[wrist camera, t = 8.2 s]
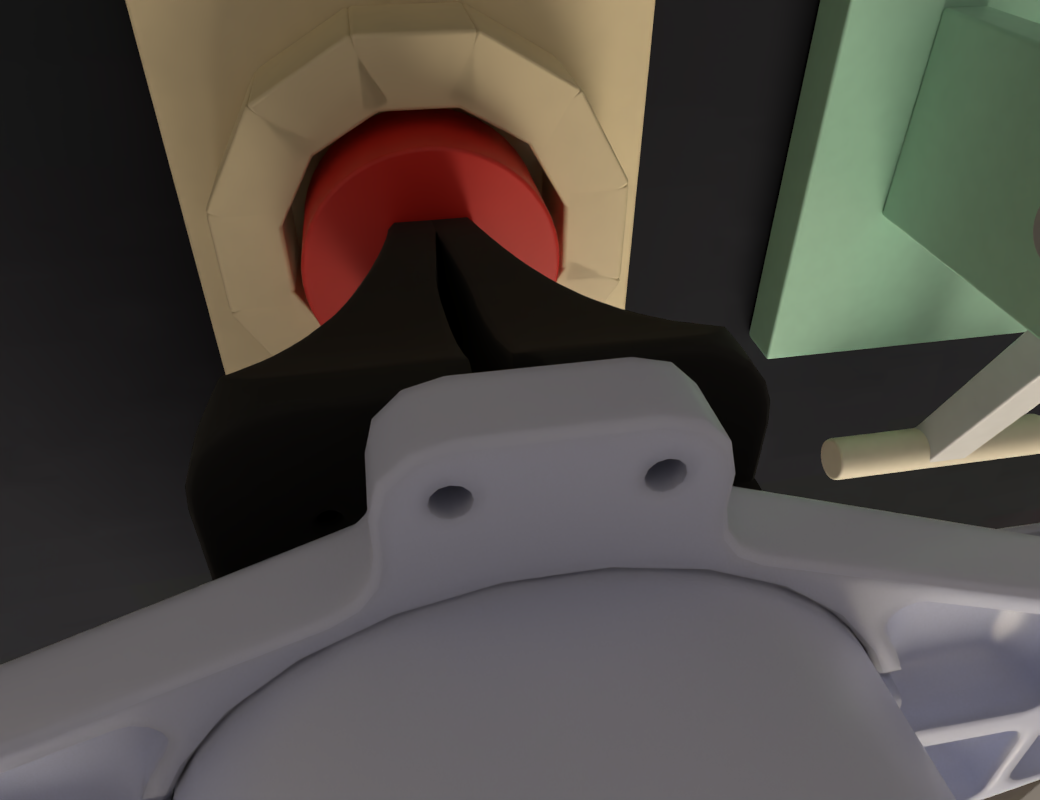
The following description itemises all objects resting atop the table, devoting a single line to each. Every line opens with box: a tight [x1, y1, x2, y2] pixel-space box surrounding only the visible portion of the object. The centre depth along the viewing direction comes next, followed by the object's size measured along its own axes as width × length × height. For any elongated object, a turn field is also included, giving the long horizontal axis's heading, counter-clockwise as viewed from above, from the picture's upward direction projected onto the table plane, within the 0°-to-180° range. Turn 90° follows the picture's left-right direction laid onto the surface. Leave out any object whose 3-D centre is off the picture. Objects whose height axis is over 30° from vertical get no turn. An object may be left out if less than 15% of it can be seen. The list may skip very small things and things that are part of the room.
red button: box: [301, 108, 560, 325], centre depth 14 cm, size 4×4×2 cm
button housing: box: [125, 0, 655, 375], centre depth 16 cm, size 12×9×4 cm
